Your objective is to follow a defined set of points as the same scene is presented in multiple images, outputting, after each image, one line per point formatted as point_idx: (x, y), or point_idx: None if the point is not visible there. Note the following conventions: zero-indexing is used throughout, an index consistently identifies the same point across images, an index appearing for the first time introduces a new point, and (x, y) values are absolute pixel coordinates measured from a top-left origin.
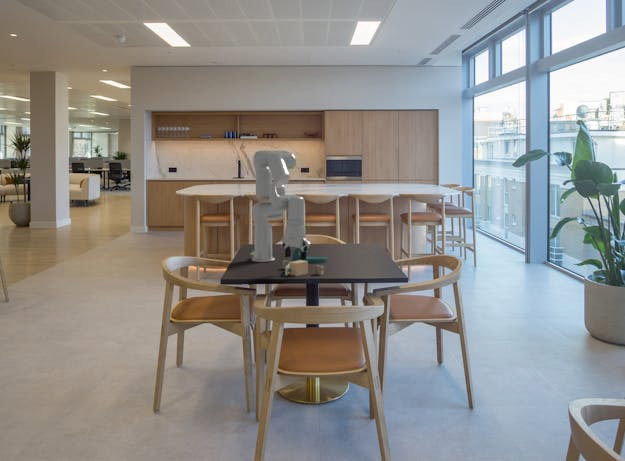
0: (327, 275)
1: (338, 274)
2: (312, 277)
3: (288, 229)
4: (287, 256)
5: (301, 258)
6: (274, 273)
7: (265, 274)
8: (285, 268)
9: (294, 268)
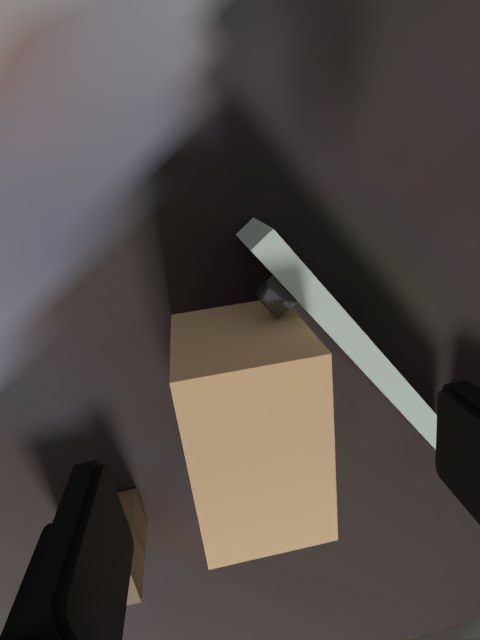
0: (16, 542)
1: (5, 621)
2: (5, 395)
3: None
4: (443, 414)
5: (69, 480)
6: (431, 208)
7: (472, 84)
8: (269, 229)
9: (211, 339)
